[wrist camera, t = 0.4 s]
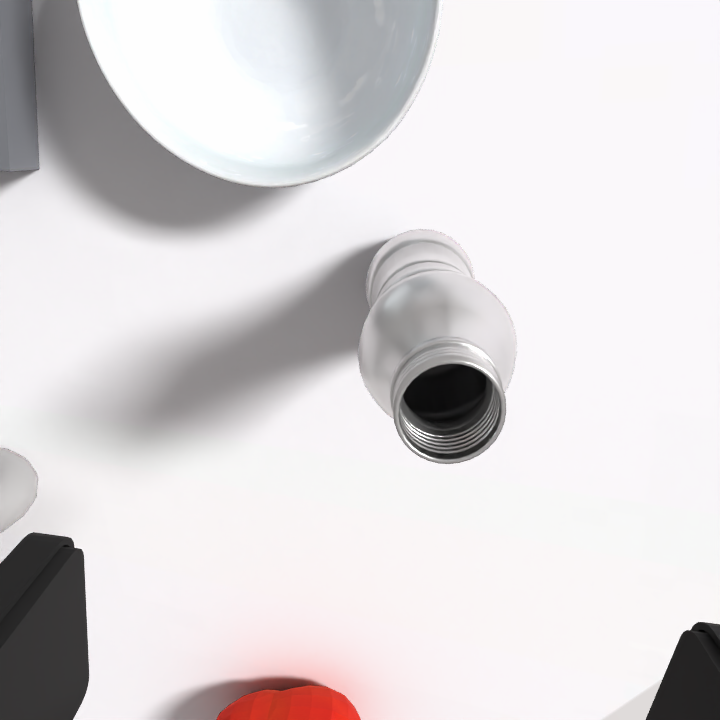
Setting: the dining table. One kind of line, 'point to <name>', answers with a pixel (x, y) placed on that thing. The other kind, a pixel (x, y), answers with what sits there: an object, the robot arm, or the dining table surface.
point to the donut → (15, 487)
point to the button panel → (17, 88)
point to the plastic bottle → (436, 347)
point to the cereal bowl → (265, 78)
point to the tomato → (292, 705)
